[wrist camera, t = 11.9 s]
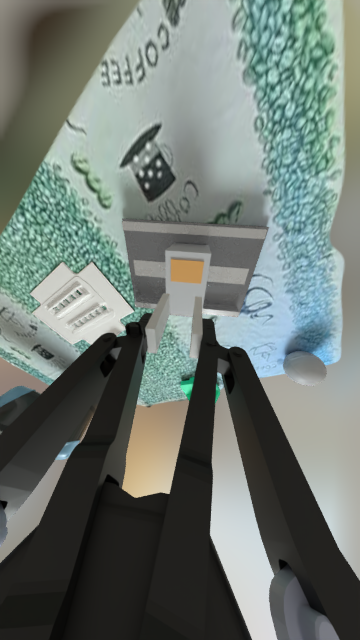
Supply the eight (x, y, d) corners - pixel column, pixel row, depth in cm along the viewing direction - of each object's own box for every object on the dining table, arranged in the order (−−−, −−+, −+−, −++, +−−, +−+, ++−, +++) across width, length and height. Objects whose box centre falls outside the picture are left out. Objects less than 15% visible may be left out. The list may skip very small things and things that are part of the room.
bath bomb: (275, 365, 41) (289, 392, 35) (280, 345, 37) (297, 372, 30) (307, 364, 39) (328, 392, 33) (316, 343, 35) (343, 371, 29)
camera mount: (213, 373, 47) (216, 406, 39) (219, 386, 51) (223, 419, 42) (180, 378, 51) (176, 409, 42) (188, 390, 54) (185, 420, 46)
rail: (136, 300, 34) (131, 307, 31) (124, 218, 25) (115, 218, 22) (238, 310, 32) (242, 318, 30) (266, 226, 23) (275, 227, 20)
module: (173, 294, 31) (165, 315, 24) (174, 242, 25) (164, 250, 18) (200, 297, 30) (201, 318, 24) (208, 245, 25) (211, 253, 18)
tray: (22, 302, 40) (8, 308, 36) (84, 244, 30) (71, 246, 27) (83, 349, 49) (75, 357, 45) (145, 316, 39) (141, 324, 36)
